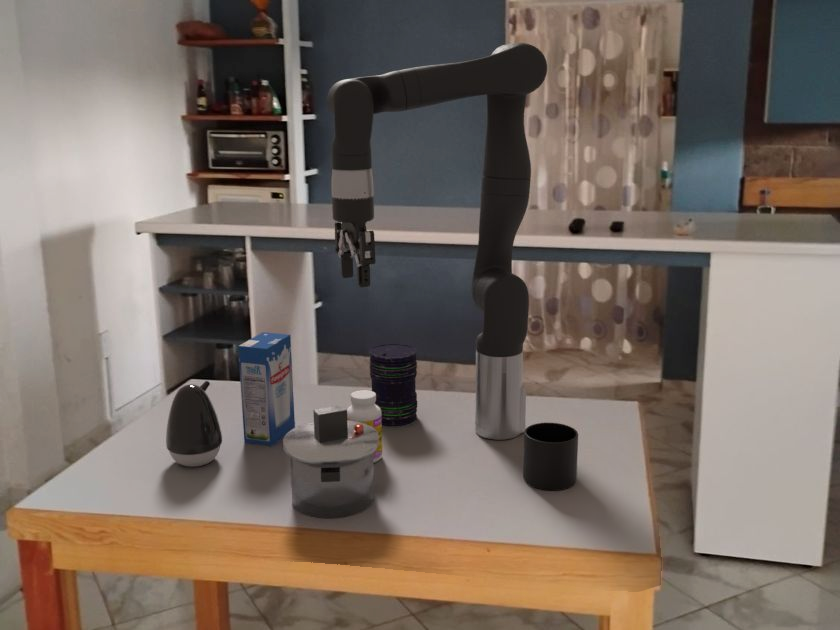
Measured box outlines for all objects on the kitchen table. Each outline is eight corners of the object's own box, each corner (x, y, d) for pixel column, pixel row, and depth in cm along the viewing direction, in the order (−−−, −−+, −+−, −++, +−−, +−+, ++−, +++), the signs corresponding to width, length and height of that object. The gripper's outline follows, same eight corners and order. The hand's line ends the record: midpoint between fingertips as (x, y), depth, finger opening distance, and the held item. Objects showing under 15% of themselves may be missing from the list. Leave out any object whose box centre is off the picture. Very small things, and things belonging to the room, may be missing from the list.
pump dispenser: (235, 454, 170) (230, 379, 166) (200, 476, 161) (194, 397, 157) (192, 446, 174) (186, 372, 170) (156, 467, 165) (149, 390, 161)
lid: (358, 420, 159) (357, 387, 158) (394, 453, 145) (393, 417, 144) (271, 435, 153) (270, 402, 151) (300, 471, 139) (298, 435, 137)
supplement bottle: (377, 467, 164) (376, 401, 160) (343, 464, 165) (340, 399, 162) (386, 452, 170) (384, 389, 167) (352, 449, 172) (350, 387, 168)
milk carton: (272, 446, 173) (266, 348, 168) (244, 442, 175) (237, 345, 170) (295, 427, 183) (290, 334, 177) (268, 424, 185) (262, 331, 179)
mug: (576, 464, 164) (578, 418, 162) (576, 493, 153) (578, 444, 151) (525, 460, 166) (526, 415, 164) (521, 489, 155) (522, 441, 152)
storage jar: (390, 406, 194) (388, 341, 190) (426, 416, 188) (426, 348, 184) (361, 420, 186) (359, 352, 182) (398, 431, 180) (397, 361, 176)
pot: (295, 477, 160) (292, 425, 157) (373, 474, 161) (371, 422, 158) (288, 525, 143) (285, 468, 140) (375, 521, 144) (374, 464, 141)
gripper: (387, 197, 155) (389, 287, 159) (357, 188, 167) (360, 272, 172) (347, 200, 152) (350, 292, 156) (320, 191, 164) (323, 276, 168)
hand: (355, 281), depth 164 cm, fingers open, 8 cm apart
